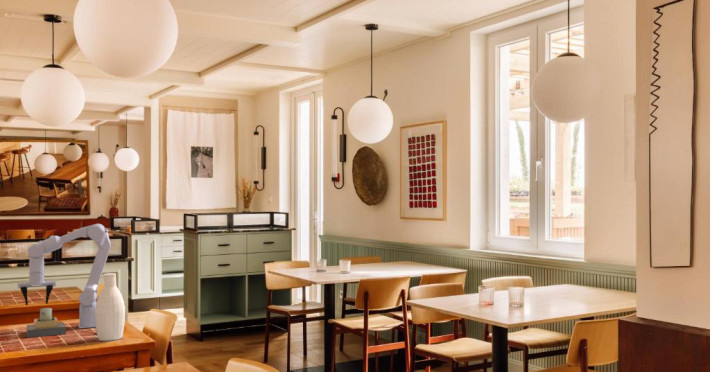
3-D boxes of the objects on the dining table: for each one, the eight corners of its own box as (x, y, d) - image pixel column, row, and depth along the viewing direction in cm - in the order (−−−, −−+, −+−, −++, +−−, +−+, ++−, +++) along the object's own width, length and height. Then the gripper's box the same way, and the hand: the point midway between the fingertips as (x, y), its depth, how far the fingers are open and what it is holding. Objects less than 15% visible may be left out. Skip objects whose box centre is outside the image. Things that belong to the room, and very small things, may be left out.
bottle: (107, 342, 259) (107, 276, 260) (89, 339, 265) (88, 274, 266) (131, 337, 269) (131, 273, 269) (113, 334, 275) (112, 271, 275)
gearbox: (63, 329, 287) (63, 315, 287) (65, 334, 276) (65, 320, 276) (26, 332, 281) (26, 318, 281) (27, 337, 270) (27, 323, 270)
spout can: (53, 324, 281) (53, 307, 281) (47, 327, 275) (47, 310, 275) (42, 324, 280) (42, 307, 281) (36, 327, 275) (36, 310, 275)
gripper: (54, 270, 295) (54, 301, 295) (17, 272, 288) (17, 304, 288) (55, 271, 289) (55, 303, 288) (17, 273, 282) (17, 306, 282)
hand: (36, 304), depth 288 cm, fingers open, 7 cm apart
